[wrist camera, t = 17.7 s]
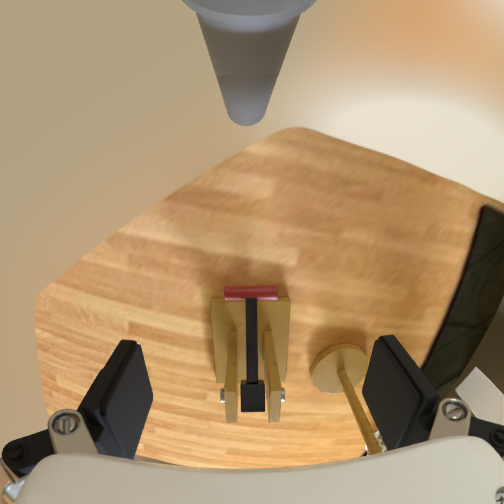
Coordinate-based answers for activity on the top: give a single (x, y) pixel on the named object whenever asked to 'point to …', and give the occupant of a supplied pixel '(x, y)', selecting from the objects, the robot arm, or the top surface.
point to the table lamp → (345, 382)
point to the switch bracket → (234, 350)
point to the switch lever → (251, 342)
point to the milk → (482, 397)
